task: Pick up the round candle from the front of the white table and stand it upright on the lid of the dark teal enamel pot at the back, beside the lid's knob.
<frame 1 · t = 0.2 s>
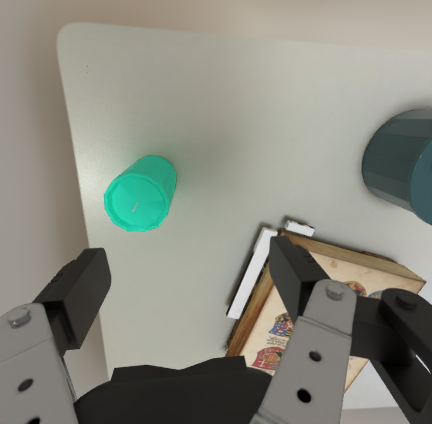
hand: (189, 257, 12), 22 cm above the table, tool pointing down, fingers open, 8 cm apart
pot: (404, 157, 34), on the table
candle: (154, 177, 33), on the table
book: (298, 299, 42), on the table
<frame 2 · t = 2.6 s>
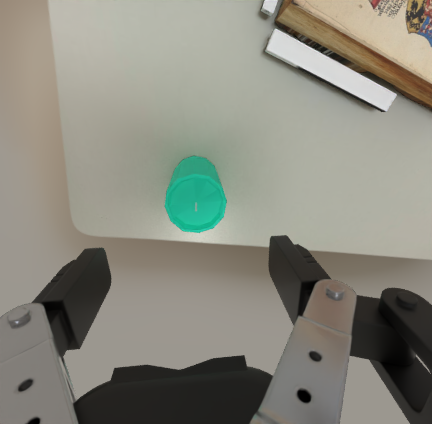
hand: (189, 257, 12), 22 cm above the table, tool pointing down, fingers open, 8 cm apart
candle: (195, 177, 33), on the table
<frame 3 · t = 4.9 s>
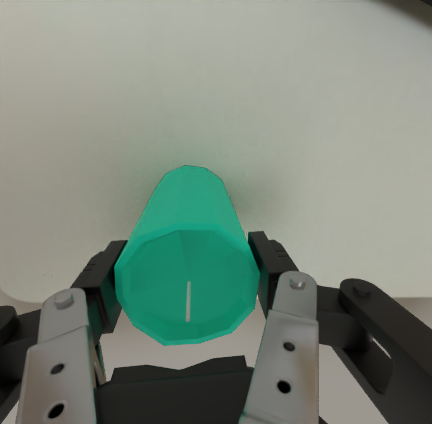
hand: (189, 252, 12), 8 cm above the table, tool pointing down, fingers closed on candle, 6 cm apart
candle: (191, 201, 20), on the table, touching gripper
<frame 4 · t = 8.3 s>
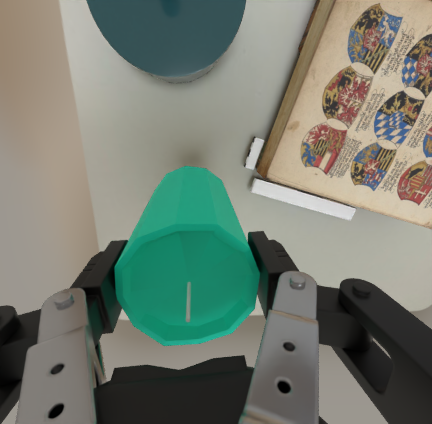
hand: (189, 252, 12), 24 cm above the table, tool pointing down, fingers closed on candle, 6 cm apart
pot: (175, 23, 28), on the table
candle: (191, 202, 20), point 16 cm above the table, touching gripper
book: (354, 129, 35), on the table
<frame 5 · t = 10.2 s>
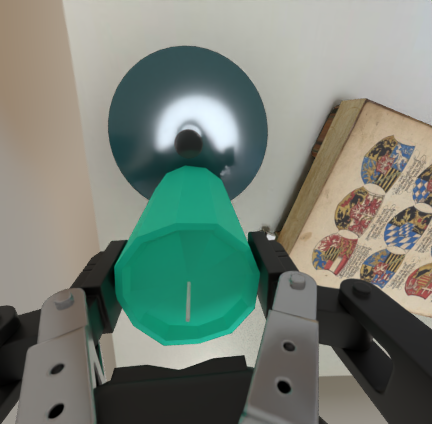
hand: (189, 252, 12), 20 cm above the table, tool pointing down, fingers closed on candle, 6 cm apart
candle: (191, 201, 20), point 12 cm above the table, touching gripper
book: (363, 218, 35), on the table
pot lid: (190, 138, 21), point 8 cm above the table, touching pot
when the fingers open (17 cm above the table, at t = 11.7 s): candle stays where it is, resting on pot lid.
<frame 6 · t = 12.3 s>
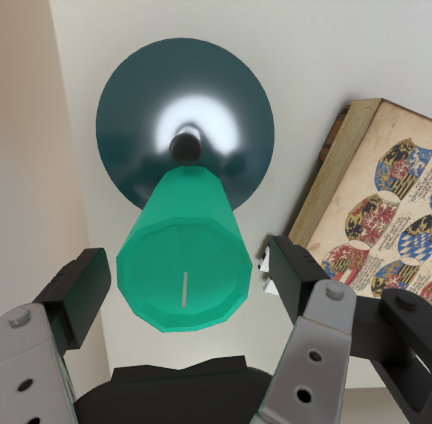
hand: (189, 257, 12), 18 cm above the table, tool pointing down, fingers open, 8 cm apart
candle: (190, 199, 20), point 9 cm above the table, touching pot lid
book: (373, 226, 33), on the table
pot lid: (188, 142, 19), point 8 cm above the table, touching candle, pot
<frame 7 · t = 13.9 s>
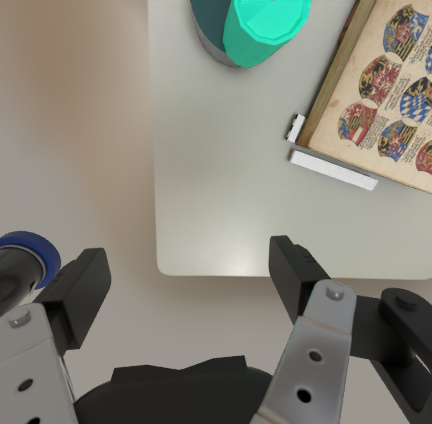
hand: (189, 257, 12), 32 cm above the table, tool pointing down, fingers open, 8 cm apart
pot: (238, 16, 34), on the table
candle: (248, 37, 28), point 9 cm above the table, touching pot lid
book: (380, 111, 40), on the table
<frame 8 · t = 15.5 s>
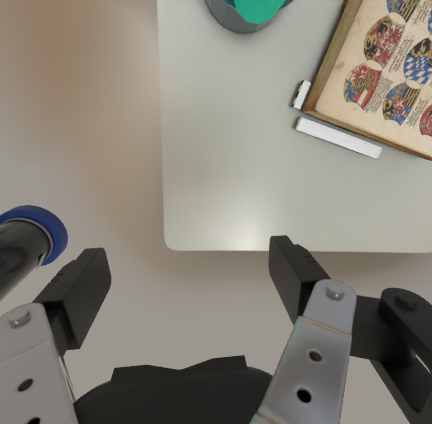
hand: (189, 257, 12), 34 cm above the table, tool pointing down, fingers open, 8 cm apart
book: (383, 79, 41), on the table
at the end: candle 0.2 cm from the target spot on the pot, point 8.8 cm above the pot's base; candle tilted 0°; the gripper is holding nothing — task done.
